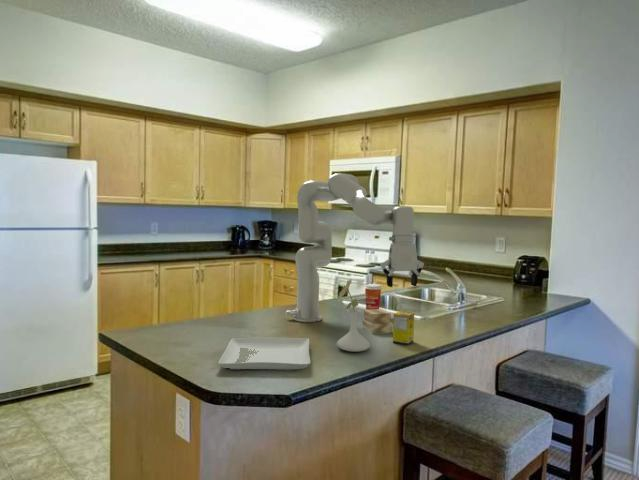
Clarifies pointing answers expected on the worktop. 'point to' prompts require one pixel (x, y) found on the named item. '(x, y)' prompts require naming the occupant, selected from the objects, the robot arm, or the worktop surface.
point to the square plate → (268, 353)
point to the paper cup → (373, 296)
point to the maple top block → (377, 316)
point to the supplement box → (403, 328)
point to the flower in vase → (352, 328)
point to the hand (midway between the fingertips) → (401, 286)
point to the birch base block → (377, 327)
